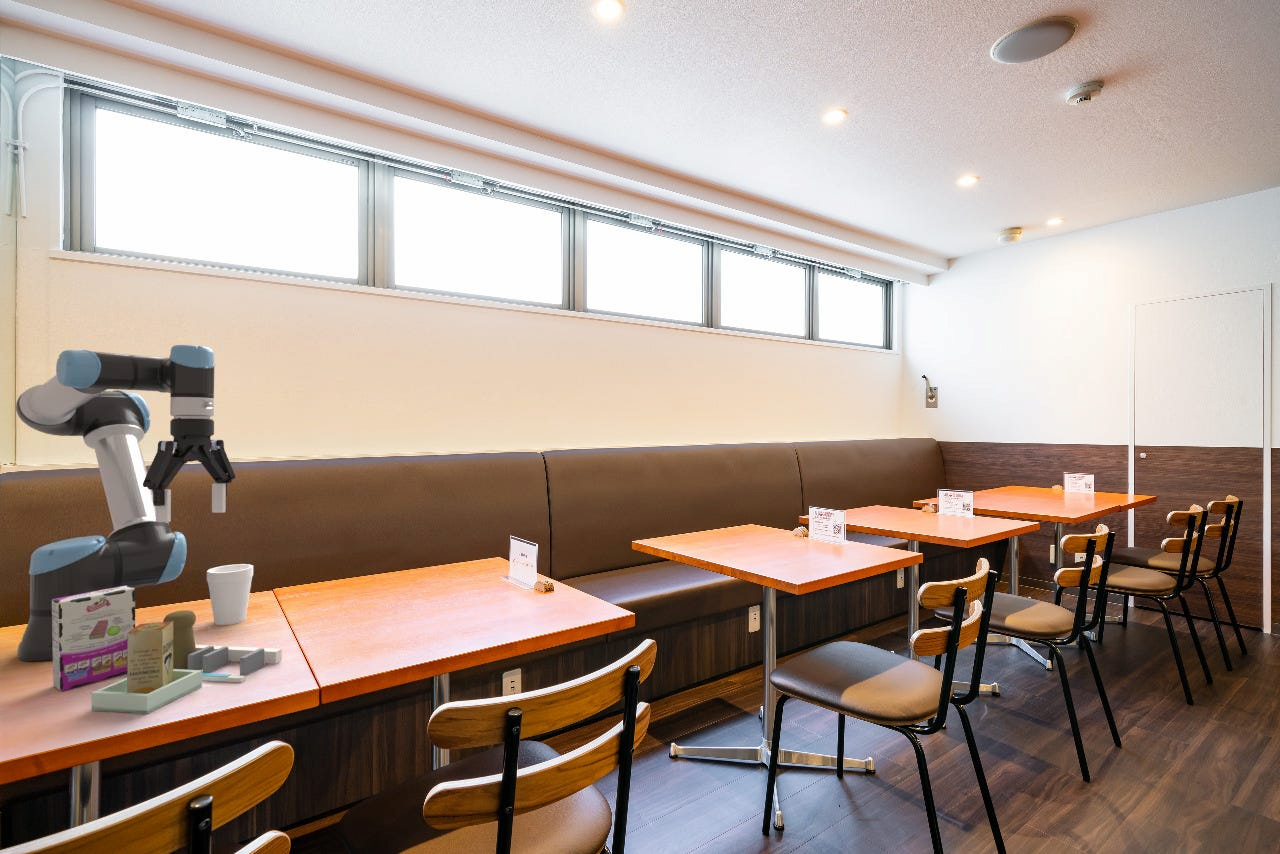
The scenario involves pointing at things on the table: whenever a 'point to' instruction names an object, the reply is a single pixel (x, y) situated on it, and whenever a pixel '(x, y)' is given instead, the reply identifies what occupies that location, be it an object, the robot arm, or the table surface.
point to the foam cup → (230, 592)
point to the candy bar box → (91, 636)
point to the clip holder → (220, 655)
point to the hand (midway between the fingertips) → (192, 517)
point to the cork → (182, 637)
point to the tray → (123, 702)
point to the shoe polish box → (149, 657)
